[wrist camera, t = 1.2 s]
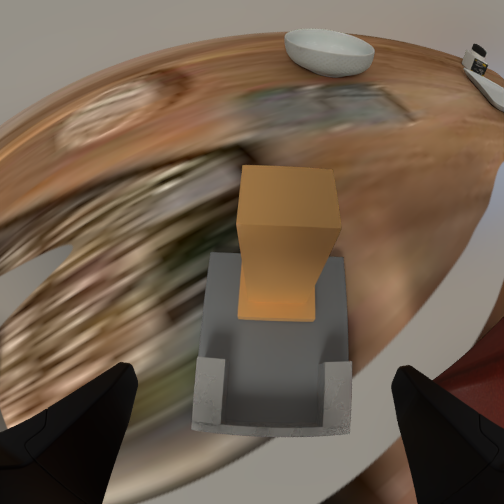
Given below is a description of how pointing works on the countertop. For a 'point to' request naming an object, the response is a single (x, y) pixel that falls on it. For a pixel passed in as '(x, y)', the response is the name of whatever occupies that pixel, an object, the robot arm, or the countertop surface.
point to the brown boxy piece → (284, 239)
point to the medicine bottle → (476, 60)
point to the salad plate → (488, 89)
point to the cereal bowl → (329, 52)
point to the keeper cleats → (327, 423)
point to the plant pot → (480, 376)
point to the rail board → (272, 345)
